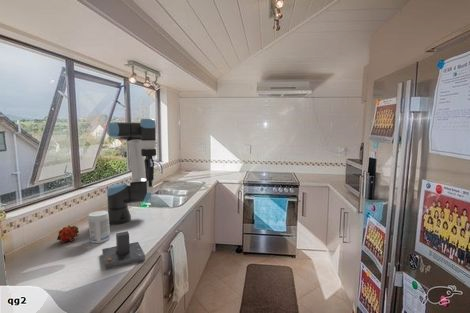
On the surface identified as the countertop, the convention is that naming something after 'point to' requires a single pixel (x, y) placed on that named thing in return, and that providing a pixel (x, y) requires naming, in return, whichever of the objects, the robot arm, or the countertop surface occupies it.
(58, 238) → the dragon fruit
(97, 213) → the supplement tub
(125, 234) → the plug
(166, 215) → the countertop surface
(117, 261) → the socket plate
